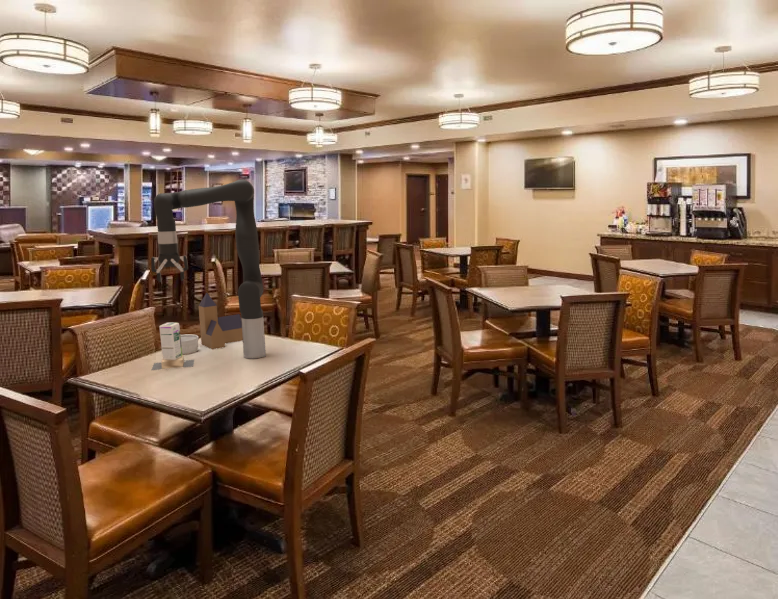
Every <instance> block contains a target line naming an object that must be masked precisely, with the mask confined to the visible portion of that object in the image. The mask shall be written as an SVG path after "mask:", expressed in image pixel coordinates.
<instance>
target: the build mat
mask: <svg viewBox="0 0 778 599" xmlns="http://www.w3.org/2000/svg"><path fill="white" fill-rule="evenodd" d="M194 364H195V359H187V360H186V359H184V365H183V367H179V368H178V369H185V368H192V367H194ZM157 370H158V371H159V370H160V371H161V370H162V371H163V370H164V369H162V364H161V362H154V363H153V365H152V367H151V371H157ZM166 370H175V368H167V369H166Z"/></svg>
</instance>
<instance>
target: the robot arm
mask: <svg viewBox="0 0 778 599" xmlns="http://www.w3.org/2000/svg"><path fill="white" fill-rule="evenodd" d="M254 197H255V188H254V186H253V184H252V183H251V182H250V181H249V180H246V179H237V180H235V181H233V182H229V183H226V184H223V185H217V186H212V187H211V186H209V187H199V188H191V189H184V190H180V191H177V192H176V191H175V192H166V193H165V192H163V193H162V192H161V193H158V194H157V195H156V196H154V199H153V207H154V212H155V217H156V221H157V222H156V223H157V224H156V225H157V244H158V246H157V247H158V257H154V256H152V257H151V258H150V259H151V260H150V261H151V262H150V263H151V264H150V265H151V266H150V267H151V272H152V273H156V280H157V282H159V283H162V273H161V271H162V269H163V268H169V267H170V268H174V267H176V268H177V269H178V270H179V271H180V272H179V274H180V282H183V281H184V280H185V271H188V270H189V264H188V256H187V255H182V256H180V254H179V244H178V243H179V241H178V235H177V227H176V225H177V224H176V221H175V218H174V214H173V210H178V209H183V208H184V209H185V208H193V207H199V206H200V207H201V206H206V205H209V204H213V203H220V202H234V205H235V213H236V214H235V215H236V216H235V217H236V220H235V232H234V233H235V235H234V236H235V243H236V245H235V246H236V252H237V256H238V258H239V260H240V264H241V267H242V274H243V275H242V276H243V278H242V279H243V282H242V283H241V284H240V286H239V287H238V291H237V296H238V297H237V298H238V307H239V313H240V317H241V321H242V336H243V341H242V351H243V352H242V353H243V358H246V359H259V358H264V357H266V356H267V355H266V354H267V353H266V351H267V350H266V337H265V336H266V334H265V327H264V326H265V323H264V322H265V321H264V311H263V309H262V305H261V297H262V296H263V294H264V284H263V280H262V275H261V269H260V249H259V248H260V245H259V234H258V227H257V222H256V218H255V208H254V207H255V206H254V201H255V198H254ZM180 260H181V261H182V262H183V263H184V267H183V266H181V264H180V263H179V261H180ZM158 261H159V263H160V265H159V267H158V268H156V263H157V262H158Z"/></svg>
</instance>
